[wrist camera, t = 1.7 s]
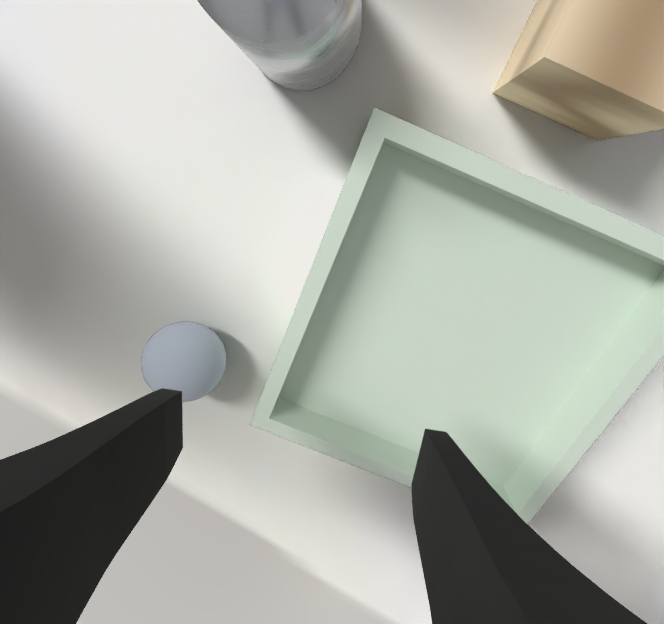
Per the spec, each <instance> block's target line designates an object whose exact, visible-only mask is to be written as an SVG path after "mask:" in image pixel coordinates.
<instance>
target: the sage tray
mask: <svg viewBox="0 0 664 624" xmlns="http://www.w3.org/2000/svg"><path fill="white" fill-rule="evenodd" d="M663 355H664V235H661V234H659V233H657V232H655V231H652V230H650V229H648V228H646V227H643V226H641V225H639V224H637V223H634V222H632V221H630V220H627V219H625V218H623V217H621V216H618V215H616V214H614V213H612V212H609V211H607V210H605V209H603V208H600V207H598V206H596V205H594V204H591V203H589V202H587V201H585V200H582V199H580V198H578V197H576V196H573V195H571V194H569V193H567V192H564V191H562V190H560V189H557V188H555V187H553V186H551V185H548V184H546V183H544V182H542V181H539V180H537V179H535V178H533V177H530V176H528V175H526V174H524V173H521V172H519V171H517V170H515V169H512V168H510V167H508V166H506V165H503V164H501V163H499V162H497V161H494V160H492V159H490V158H487V157H485V156H483V155H481V154H478V153H476V152H474V151H472V150H469V149H467V148H465V147H463V146H460V145H458V144H456V143H454V142H451V141H449V140H447V139H445V138H442V137H440V136H438V135H436V134H433V133H431V132H429V131H427V130H424V129H422V128H420V127H417V126H415V125H413V124H411V123H408V122H406V121H404V120H402V119H399V118H397V117H395V116H393V115H390V114H388V113H386V112H384V111H381V110H379V109H377V108H375V107H374V109H373V112H372V114H371V117H370V119H369V122H368V125H367V127H366V130H365V132H364V135H363V137H362V140H361V142H360V145H359V147H358V150H357V153H356V155H355V158H354V160H353V163H352V165H351V168H350V170H349V173H348V175H347V178H346V181H345V183H344V186H343V188H342V191H341V193H340V196H339V198H338V201H337V203H336V206H335V209H334V211H333V214H332V216H331V219H330V221H329V224H328V226H327V229H326V231H325V234H324V237H323V239H322V242H321V244H320V247H319V249H318V252H317V254H316V257H315V260H314V262H313V265H312V267H311V270H310V272H309V275H308V277H307V280H306V282H305V285H304V288H303V290H302V293H301V295H300V298H299V300H298V303H297V305H296V308H295V310H294V313H293V316H292V318H291V321H290V323H289V326H288V328H287V331H286V333H285V336H284V338H283V341H282V344H281V346H280V349H279V351H278V354H277V356H276V359H275V361H274V364H273V366H272V369H271V372H270V374H269V377H268V379H267V382H266V384H265V387H264V389H263V392H262V394H261V397H260V400H259V402H258V405H257V407H256V410H255V412H254V415H253V417H252V420H251V422H250V425H251V426H254V427H256V428H259V429H261V430H264V431H267V432H269V433H272V434H274V435H277V436H279V437H282V438H285V439H287V440H290V441H292V442H295V443H297V444H300V445H303V446H305V447H308V448H310V449H313V450H315V451H318V452H321V453H323V454H326V455H328V456H331V457H333V458H336V459H339V460H341V461H344V462H346V463H349V464H351V465H354V466H357V467H359V468H362V469H364V470H367V471H369V472H372V473H375V474H377V475H380V476H382V477H385V478H387V479H390V480H392V481H395V482H398V483H400V484H403V485H405V486H408V487H410V488H412V486H411V484H412V480H413V476H414V472H415V468H416V464H417V460H418V455H419V451H420V447H421V443H422V439H423V435H424V431H425V429H431V430H437V431H444V432H447V433H448V434H449V436H450V437H451V438H452V439H453V440H454V442H455V443H456V444H457V445H458V447H459V448H460V449H461V450H462V452H463V453H464V454H465V455H466V457H467V458H468V459H469V460H470V461H471V463H472V464H473V465H474V466H475V468H476V469H477V470H478V471H479V472H480V474H481V475H482V476H483V477H484V478H485V479H486V481H487V482H488V483H489V484H490V485H491V486H492V487H493V489H494V490H495V491H496V492H497V493H498V494H499V495H500V496H501V497H502V499H503V500H504V501H505V502H506V503H507V504H508V505H509V506H510V507H511V508H512V509H513V510H514V511H515V512H516V513H517V514H518V515H519V516H520V517H521V519H522V520H523V521H524V522H525V523H527V524H528V523H529V522H530V521H531V520H532V518H533V517H534V516H535V515H536V513H537V512H538V511H539V510H540V508H541V507H542V506H543V505H544V503H545V502H546V501H547V500H548V498H549V497H550V496H551V495H552V493H553V492H554V491H555V490H556V488H557V487H558V486H559V485H560V483H561V482H562V481H563V480H564V478H565V477H566V476H567V475H568V473H569V472H570V471H571V470H572V468H573V467H574V466H575V465H576V463H577V462H578V461H579V460H580V458H581V457H582V456H583V455H584V453H585V452H586V451H587V450H588V448H589V447H590V446H591V445H592V443H593V442H594V441H595V440H596V439H597V437H598V436H599V435H600V434H601V432H602V431H603V430H604V429H605V427H606V426H607V425H608V424H609V422H610V421H611V420H612V419H613V417H614V416H615V415H616V414H617V412H618V411H619V410H620V409H621V407H622V406H623V405H624V404H625V402H626V401H627V400H628V399H629V397H630V396H631V395H632V394H633V392H634V391H635V390H636V389H637V387H638V386H639V385H640V384H641V382H642V381H643V380H644V379H645V377H646V376H647V375H648V374H649V372H650V371H651V370H652V369H653V367H654V366H655V365H656V364H657V362H658V361H659V360H660V359H661V357H662V356H663Z"/></svg>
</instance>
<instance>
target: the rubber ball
mask: <svg viewBox="0 0 664 624" xmlns="http://www.w3.org/2000/svg"><path fill="white" fill-rule="evenodd" d="M141 368H142V373H143V377H144V379H145V381H146V383H147V384H148V386H149V387H150V388H151V389H152V390H153V391H157V390H159V389H161V388H164V389H171V390H177V391H182V402H187V401H193V400H196V399H199V398H201V397H203V396H205V395H207V394H208V393H210V392H211V391H212V390H213V389H214V388H215V387H216V386H217V385H218V384H219V382H220V380H221V379H222V377H223V375H224V372H225V368H226V351H225V348H224V345H223V343H222V341H221V340H220V338H219V337H218V336H217V334H216V333H215V332H213V331H212V330H211V329H209V328H208V327H206V326H204V325H202V324H199V323H194V322H177V323H173V324H170V325H167V326H165V327H163V328H162V329H160V330H159V331H157V332H156V333H155V334H154V335H153V336H152V337H151V338H150V340H149V341H148V342H147V344H146V346H145V348H144V350H143V353H142V359H141Z"/></svg>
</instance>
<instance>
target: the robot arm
mask: <svg viewBox="0 0 664 624" xmlns="http://www.w3.org/2000/svg"><path fill="white" fill-rule="evenodd" d="M182 448H183V433H182V391H177V390H171V389H164V388H161V389H159V390H157V391H154V392H152V393H150V394H148V395H146V396H144V397H142V398H140V399H138V400H136V401H134V402H132V403H130V404H128V405H126V406H124V407H122V408H120V409H118V410H116V411H114V412H111V413H109V414H107V415H105V416H103V417H101V418H99V419H97V420H95V421H93V422H91V423H89V424H86V425H84V426H82V427H80V428H78V429H75V430H73V431H71V432H69V433H67V434H65V435H62V436H60V437H58V438H56V439H53V440H51V441H49V442H46V443H44V444H41V445H39V446H36V447H34V448H31V449H29V450H26V451H23V452H20V453H18V454H15V455H13V456H10V457H7V458H5V459H2V460H0V624H76V623H77V621H78V619H79V617H80V615H81V613H82V612H83V609H84V608H85V606H86V604H87V602H88V601H89V599H90V597H91V595H92V594H93V592H94V590H95V588H96V586H97V585H98V583H99V581H100V579H101V578H102V576H103V574H104V572H105V571H106V569H107V568H108V566H109V564H110V563H111V561H112V559H113V558H114V556H115V555H116V553H117V552H118V550H119V549H120V547H121V546H122V544H123V543H124V541H125V540H126V539H127V537H128V536H129V534H130V533H131V531H132V530H133V528H134V527H135V525H136V524H137V523H138V521H139V520H140V518H141V516H142V515H143V514H144V512H145V511H146V509H147V508H148V506H149V505H150V504H151V502H152V500H153V499H154V497H155V496H156V495H157V493H158V492H159V490H160V489H161V487H162V486H163V484H164V483H165V481H166V480H167V478H168V476H169V474H170V472H171V470H172V468H173V466H174V465H175V462H176V460H177V458H178V456H179V454H180V452H181V450H182ZM411 486H412V503H413V516H414V524H415V530H416V535H417V541H418V546H419V551H420V557H421V562H422V567H423V573H424V578H425V583H426V588H427V594H428V599H429V604H430V610H431V617H432V624H647V623H646V622H644V621H643V620H641V619H640V618H639V617H637V616H636V615H635V614H633V613H632V612H630V611H629V610H628V609H626V608H625V607H624V606H622V605H621V604H620V603H619V602H617V601H616V600H615V599H613V598H612V597H611V596H609V595H608V594H607V593H606V592H604V591H603V590H602V589H601V588H599V587H598V586H597V585H596V584H594V583H593V582H592V581H591V580H590V579H588V578H587V577H586V576H585V575H583V574H582V573H581V572H580V571H578V570H577V569H576V568H575V567H574V566H572V565H571V564H570V563H569V562H568V561H567V560H565V559H564V558H563V557H562V556H561V555H560V554H559V553H557V552H556V551H555V550H554V549H553V548H552V547H551V546H550V545H549V544H548V543H547V542H546V541H544V540H543V539H542V538H541V537H540V536H539V535H538V534H537V533H536V532H535V531H534V530H533V529H532V528H531V527H530V526H529V525H528V524H527V523H525V522H524V521H523V520H522V519H521V517H520V516H519V515H518V514H517V513H516V512H515V511H514V510H513V509H512V508H511V507H510V506H509V505H508V504H507V503H506V502H505V501H504V500H503V499H502V497H501V496H500V495H499V494H498V493H497V492H496V491H495V490H494V489H493V487H492V486H491V485H490V484H489V483H488V482H487V481H486V479H485V478H484V477H483V476H482V475H481V474H480V472H479V471H478V470H477V469H476V468H475V466H474V465H473V464H472V463H471V461H470V460H469V459H468V458H467V457H466V455H465V454H464V453H463V452H462V450H461V449H460V448H459V447H458V445H457V444H456V443H455V442H454V440H453V439H452V438H451V437H450V436H449V434H448V433H447V432H444V431H437V430H431V429H425V431H424V435H423V439H422V443H421V447H420V451H419V455H418V460H417V464H416V468H415V472H414V476H413V480H412V484H411Z"/></svg>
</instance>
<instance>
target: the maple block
mask: <svg viewBox="0 0 664 624" xmlns="http://www.w3.org/2000/svg"><path fill="white" fill-rule="evenodd" d="M493 93H494V94H496V95H498V96H500V97H502V98H505V99H507V100H509V101H511V102H513V103H516V104H518V105H520V106H522V107H525V108H527V109H529V110H531V111H533V112H536V113H538V114H540V115H542V116H544V117H547V118H549V119H551V120H553V121H555V122H558V123H560V124H562V125H564V126H566V127H569V128H571V129H573V130H575V131H578V132H580V133H582V134H584V135H586V136H589V137H591V138H593V139H595V140H597V141H598V140H604V139H610V138H615V137H621V136H627V135H632V134H638V133H644V132H649V131H655V130H661V129H664V0H538V1H537V3H536V5H535V7H534V9H533V11H532V13H531V15H530V17H529V19H528V21H527V23H526V25H525V27H524V29H523V31H522V33H521V35H520V38H519V40H518V42H517V44H516V46H515V48H514V50H513V52H512V54H511V56H510V58H509V60H508V62H507V64H506V66H505V68H504V70H503V72H502V75H501V77H500V79H499V81H498V83H497V85H496V87H495V89H494V91H493Z"/></svg>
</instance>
